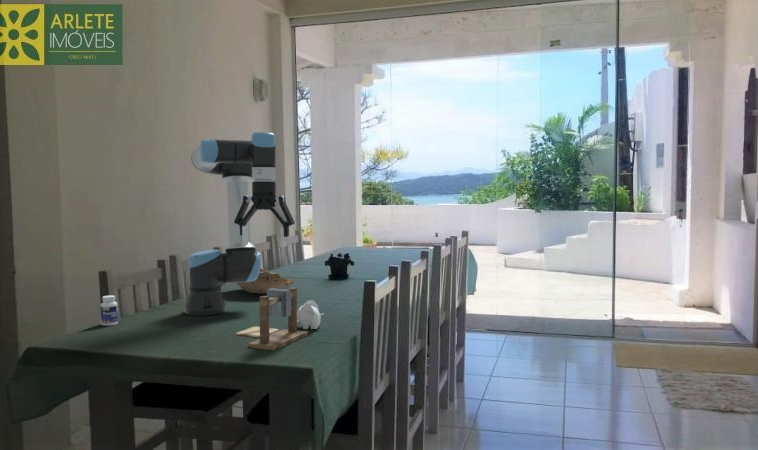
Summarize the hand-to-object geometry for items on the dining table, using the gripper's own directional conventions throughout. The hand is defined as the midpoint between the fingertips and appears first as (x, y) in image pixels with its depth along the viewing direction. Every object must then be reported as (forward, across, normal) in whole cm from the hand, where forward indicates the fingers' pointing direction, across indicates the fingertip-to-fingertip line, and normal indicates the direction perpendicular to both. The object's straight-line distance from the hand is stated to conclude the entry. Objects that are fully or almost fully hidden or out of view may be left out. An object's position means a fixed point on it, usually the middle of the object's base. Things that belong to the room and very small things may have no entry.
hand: (264, 246), depth 197 cm
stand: (+29, +8, -7) cm, 31 cm away
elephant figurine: (+29, +10, +12) cm, 33 cm away
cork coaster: (+29, -3, 0) cm, 29 cm away
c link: (+20, +8, -7) cm, 23 cm away
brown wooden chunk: (+29, -35, +69) cm, 82 cm away
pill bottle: (+29, -58, -3) cm, 65 cm away
